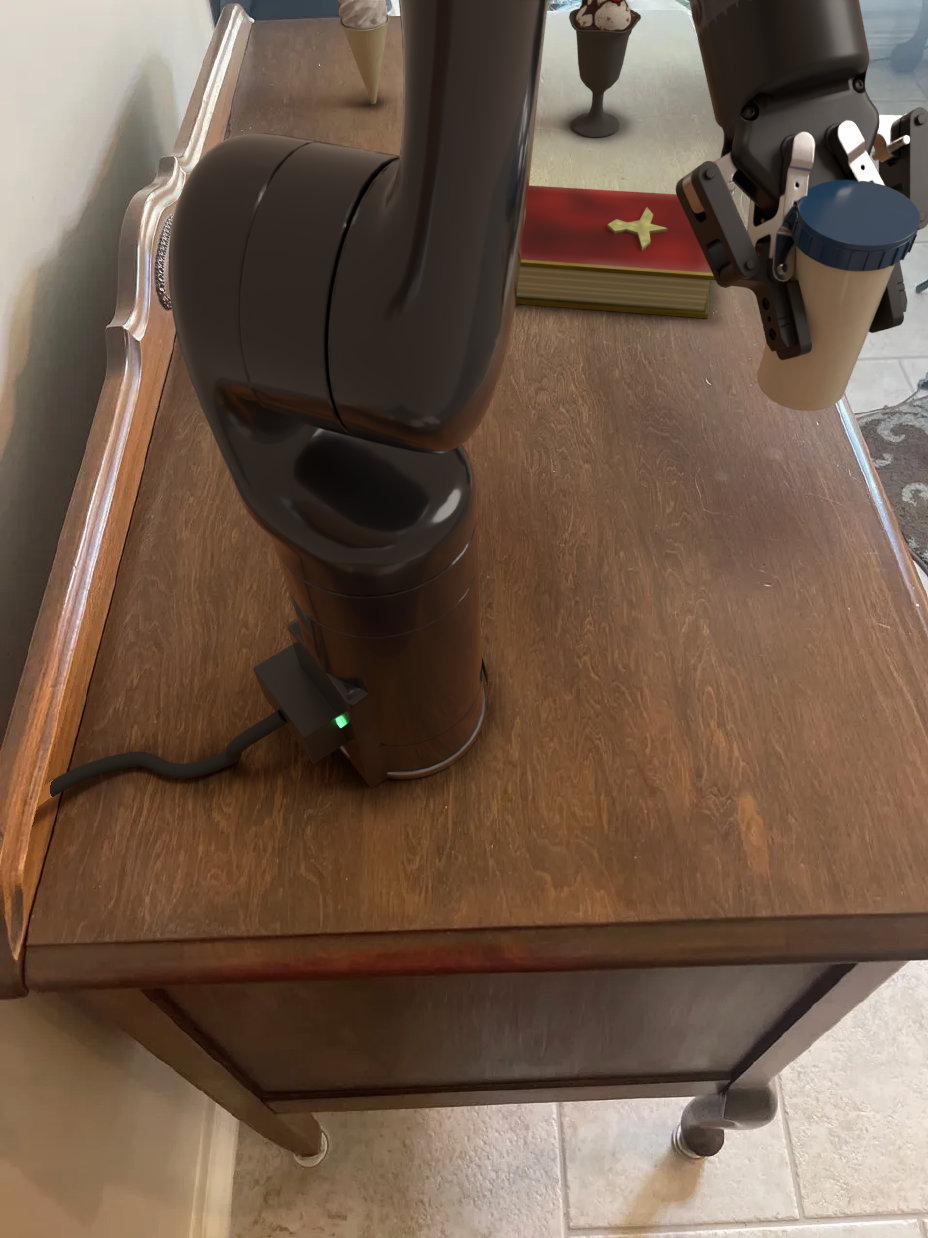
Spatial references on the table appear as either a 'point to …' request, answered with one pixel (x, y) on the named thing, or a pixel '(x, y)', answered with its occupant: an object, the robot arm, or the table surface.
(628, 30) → the sundae
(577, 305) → the hardcover book
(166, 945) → the table surface
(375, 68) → the ice cream cone
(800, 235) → the jar lid
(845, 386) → the jar
